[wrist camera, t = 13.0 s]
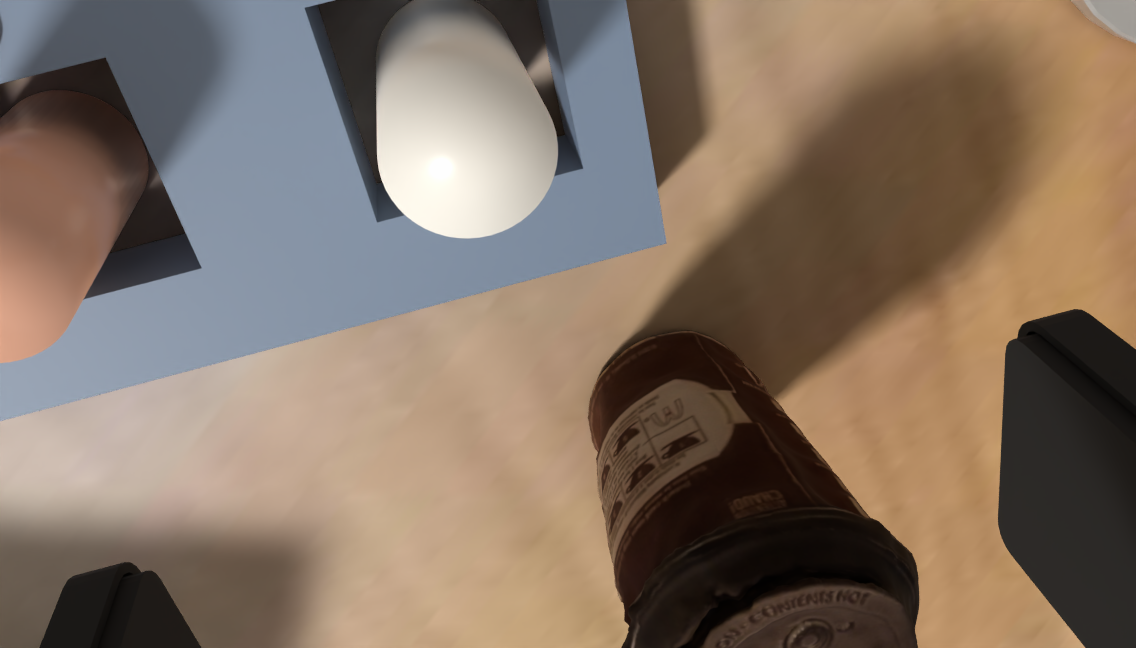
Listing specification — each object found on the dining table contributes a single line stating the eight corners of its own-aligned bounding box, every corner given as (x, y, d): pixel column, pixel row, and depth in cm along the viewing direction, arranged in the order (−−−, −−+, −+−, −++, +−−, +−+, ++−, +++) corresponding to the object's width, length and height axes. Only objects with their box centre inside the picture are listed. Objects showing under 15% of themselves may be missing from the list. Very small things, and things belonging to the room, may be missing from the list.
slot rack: (569, -204, 25) (593, -203, 23) (642, 205, 31) (668, 246, 29) (-233, -10, 24) (-310, 16, 22) (5, 373, 30) (-31, 432, 28)
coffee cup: (513, 463, 36) (576, 772, 25) (605, 272, 32) (727, 529, 21) (712, 511, 39) (849, 808, 28) (815, 341, 35) (1018, 599, 24)
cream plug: (494, -22, 27) (536, 44, 20) (526, 111, 29) (574, 212, 22) (357, 13, 27) (352, 91, 20) (399, 145, 29) (407, 257, 22)
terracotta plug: (112, 74, 27) (21, 176, 20) (171, 203, 29) (108, 337, 22) (-32, 110, 26) (-173, 226, 20) (38, 238, 29) (-67, 383, 22)
